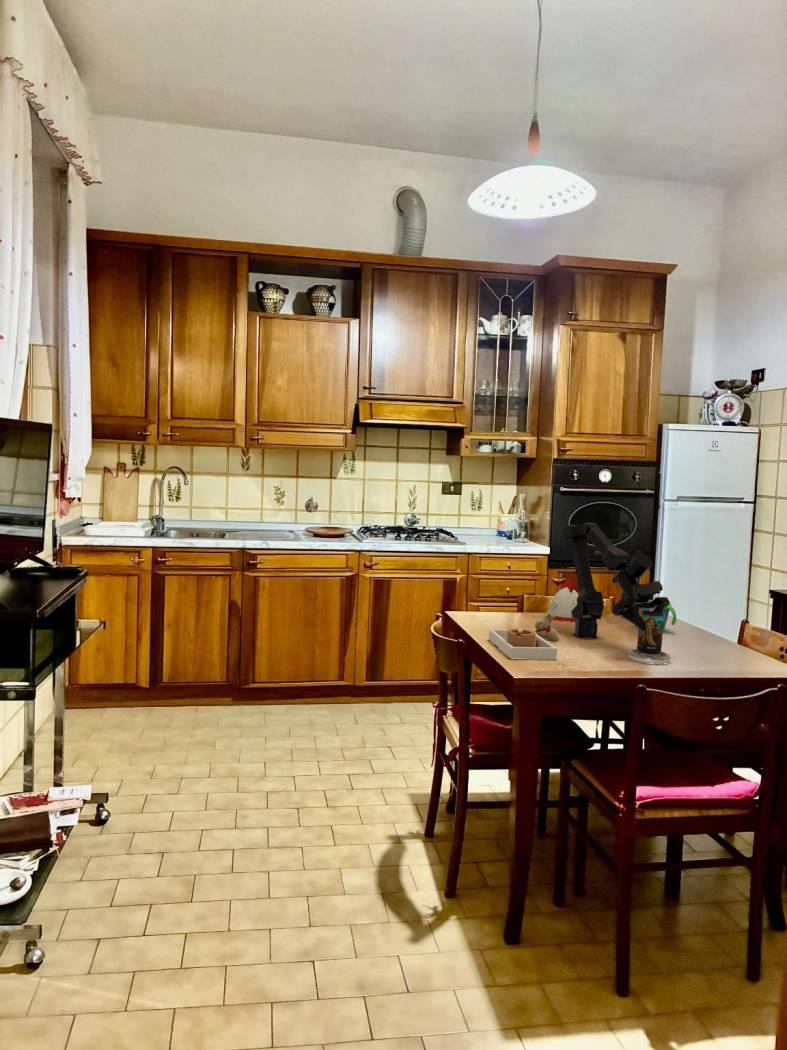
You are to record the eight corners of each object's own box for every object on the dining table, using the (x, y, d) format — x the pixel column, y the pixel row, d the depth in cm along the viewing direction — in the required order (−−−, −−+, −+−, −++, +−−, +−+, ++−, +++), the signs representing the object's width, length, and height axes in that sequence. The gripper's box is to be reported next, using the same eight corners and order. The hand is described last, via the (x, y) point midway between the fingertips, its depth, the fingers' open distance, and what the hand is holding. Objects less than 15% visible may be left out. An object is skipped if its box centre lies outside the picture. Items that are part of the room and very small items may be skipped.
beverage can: (638, 653, 230) (641, 613, 229) (635, 647, 237) (638, 609, 236) (662, 655, 229) (666, 616, 228) (659, 650, 236) (662, 611, 235)
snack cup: (681, 633, 275) (683, 605, 274) (663, 636, 269) (665, 607, 268) (644, 624, 287) (646, 597, 287) (626, 627, 281) (628, 599, 280)
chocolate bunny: (535, 637, 256) (537, 607, 255) (559, 640, 254) (561, 610, 253) (533, 641, 251) (535, 610, 250) (558, 643, 249) (560, 613, 248)
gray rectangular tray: (510, 659, 225) (511, 647, 224) (488, 640, 248) (489, 629, 248) (556, 660, 227) (557, 648, 227) (530, 640, 250) (530, 630, 250)
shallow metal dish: (638, 664, 226) (639, 658, 226) (620, 654, 238) (620, 647, 238) (678, 665, 228) (678, 658, 228) (657, 654, 240) (658, 648, 240)
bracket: (533, 659, 228) (534, 636, 227) (504, 656, 229) (506, 633, 229) (536, 645, 245) (538, 624, 244) (510, 643, 247) (511, 621, 246)
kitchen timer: (556, 622, 284) (559, 582, 283) (541, 614, 298) (544, 576, 296) (591, 622, 287) (594, 582, 286) (575, 614, 301) (577, 576, 299)
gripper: (622, 572, 230) (646, 616, 222) (668, 571, 239) (693, 613, 230) (602, 593, 238) (624, 636, 229) (647, 591, 247) (670, 633, 238)
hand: (654, 629), depth 231 cm, fingers closed on beverage can, 7 cm apart
